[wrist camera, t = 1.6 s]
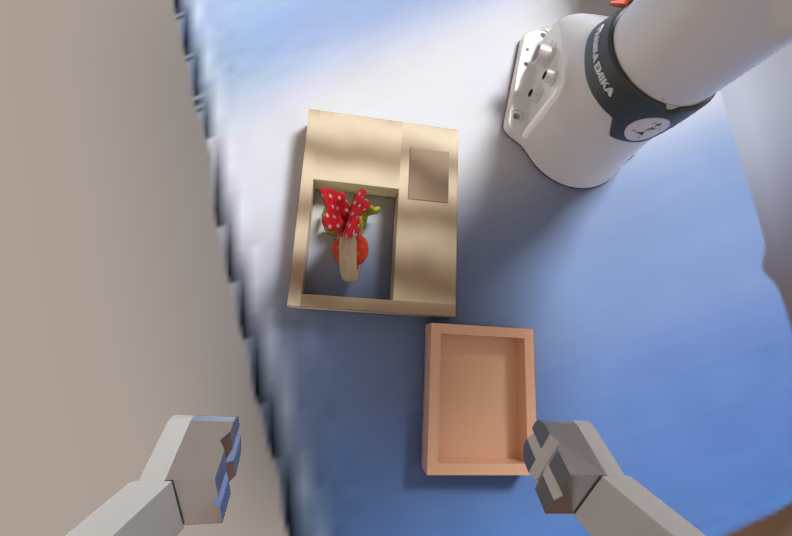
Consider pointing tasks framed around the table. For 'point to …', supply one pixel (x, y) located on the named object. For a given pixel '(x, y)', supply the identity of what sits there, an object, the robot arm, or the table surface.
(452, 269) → the puzzle board
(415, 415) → the table surface
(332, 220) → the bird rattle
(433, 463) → the terracotta tray
